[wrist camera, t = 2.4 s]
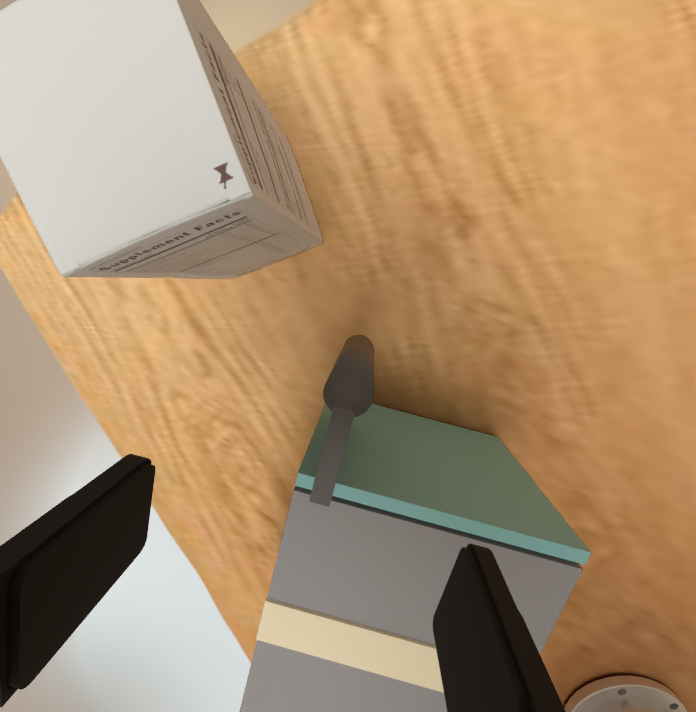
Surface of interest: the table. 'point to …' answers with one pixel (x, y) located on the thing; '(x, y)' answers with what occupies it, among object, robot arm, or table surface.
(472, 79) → the table surface
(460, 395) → the table surface
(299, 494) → the carton
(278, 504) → the table surface
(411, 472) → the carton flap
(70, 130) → the supplement box
